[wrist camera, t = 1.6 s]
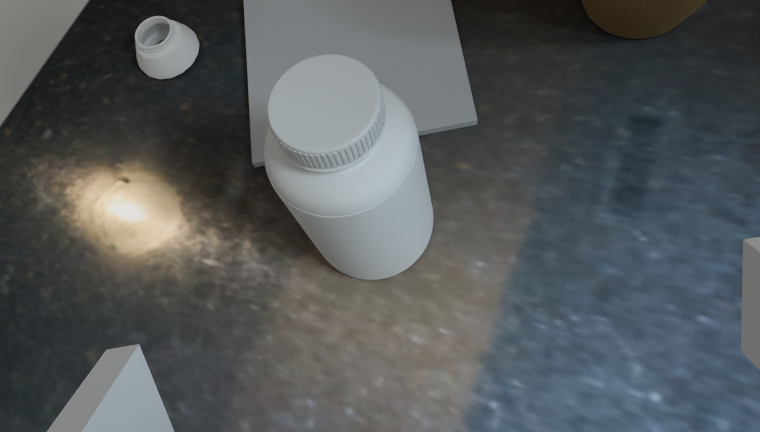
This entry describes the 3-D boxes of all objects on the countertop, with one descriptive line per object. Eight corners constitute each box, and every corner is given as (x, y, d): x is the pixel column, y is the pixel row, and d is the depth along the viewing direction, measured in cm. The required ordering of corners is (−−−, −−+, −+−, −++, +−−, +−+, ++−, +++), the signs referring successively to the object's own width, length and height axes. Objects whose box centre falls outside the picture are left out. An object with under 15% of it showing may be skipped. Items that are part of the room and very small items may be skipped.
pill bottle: (451, 188, 41) (434, 48, 27) (410, 299, 39) (368, 206, 25) (343, 157, 43) (278, 13, 30) (298, 261, 41) (203, 156, 27)
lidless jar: (160, 25, 51) (131, 74, 49) (142, 0, 48) (110, 51, 47) (211, 37, 50) (183, 88, 48) (195, 12, 47) (165, 65, 45)
